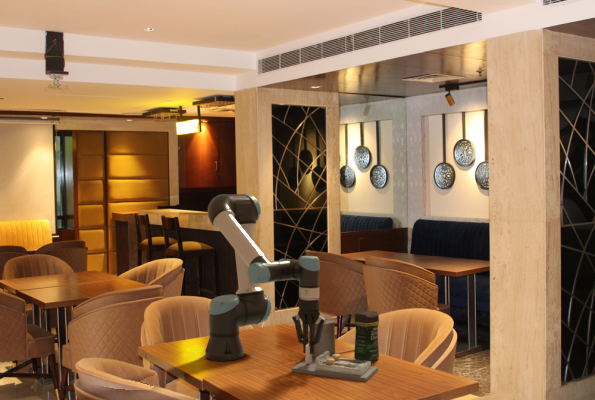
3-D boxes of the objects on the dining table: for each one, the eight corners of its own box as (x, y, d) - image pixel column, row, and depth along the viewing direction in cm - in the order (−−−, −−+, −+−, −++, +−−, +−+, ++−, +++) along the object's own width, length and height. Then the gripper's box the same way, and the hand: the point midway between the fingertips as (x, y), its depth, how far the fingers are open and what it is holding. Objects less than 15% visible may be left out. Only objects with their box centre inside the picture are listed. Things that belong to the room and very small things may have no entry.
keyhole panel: (315, 370, 204) (315, 358, 204) (326, 362, 214) (326, 350, 214) (361, 375, 197) (361, 363, 197) (370, 367, 207) (370, 355, 207)
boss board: (291, 371, 206) (291, 358, 206) (307, 361, 219) (306, 348, 219) (366, 381, 195) (366, 367, 195) (378, 370, 208) (378, 356, 208)
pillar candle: (327, 350, 235) (327, 314, 235) (339, 356, 226) (338, 318, 226) (306, 353, 231) (305, 316, 231) (317, 359, 222) (316, 321, 222)
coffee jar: (367, 364, 216) (367, 314, 216) (351, 360, 221) (350, 311, 221) (382, 358, 223) (382, 311, 223) (366, 355, 228) (365, 308, 228)
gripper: (288, 298, 210) (288, 362, 211) (321, 301, 205) (321, 367, 205) (297, 295, 217) (296, 357, 218) (329, 298, 212) (328, 361, 212)
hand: (308, 362), depth 212 cm, fingers closed
